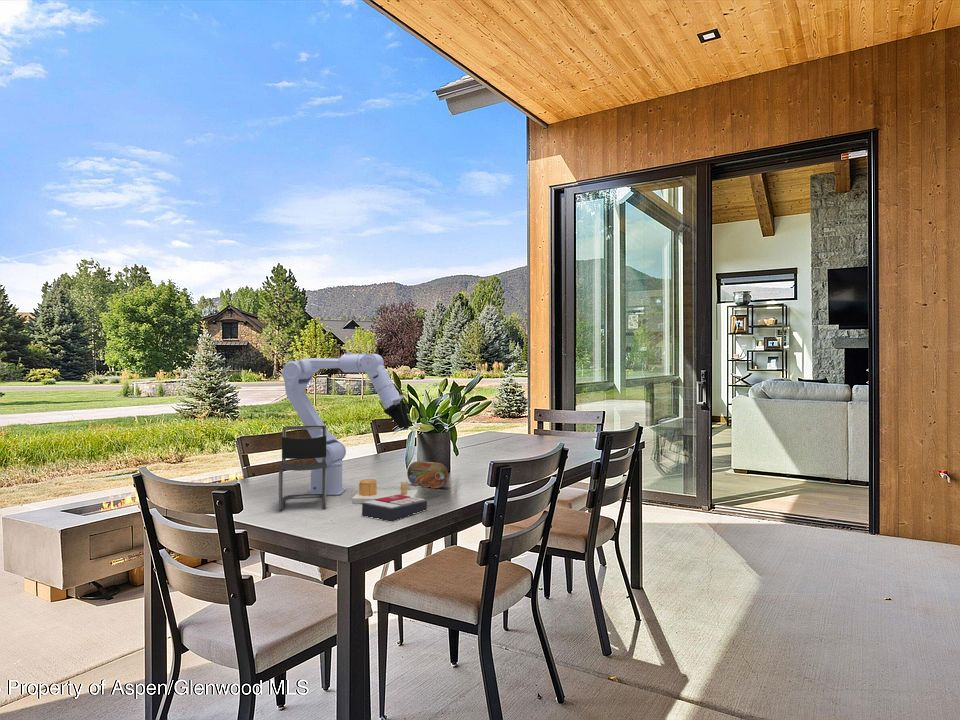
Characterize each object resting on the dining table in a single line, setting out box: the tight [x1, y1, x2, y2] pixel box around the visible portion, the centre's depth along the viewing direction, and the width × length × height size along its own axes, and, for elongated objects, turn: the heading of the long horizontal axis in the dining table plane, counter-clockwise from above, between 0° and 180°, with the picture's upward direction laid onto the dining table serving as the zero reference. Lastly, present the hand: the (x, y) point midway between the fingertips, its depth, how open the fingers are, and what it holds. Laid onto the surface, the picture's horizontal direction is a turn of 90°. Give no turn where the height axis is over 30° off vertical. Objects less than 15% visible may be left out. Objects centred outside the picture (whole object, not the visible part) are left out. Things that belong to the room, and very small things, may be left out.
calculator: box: [361, 495, 428, 522], centre depth 167 cm, size 11×4×15 cm
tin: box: [406, 460, 449, 489], centre depth 201 cm, size 15×3×8 cm, turn 62°
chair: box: [278, 425, 327, 511], centre depth 177 cm, size 13×17×22 cm
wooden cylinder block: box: [358, 478, 378, 496], centre depth 183 cm, size 5×5×4 cm
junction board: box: [351, 481, 419, 504], centre depth 183 cm, size 18×12×5 cm, turn 89°
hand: (405, 427), depth 186 cm, fingers open, 7 cm apart
